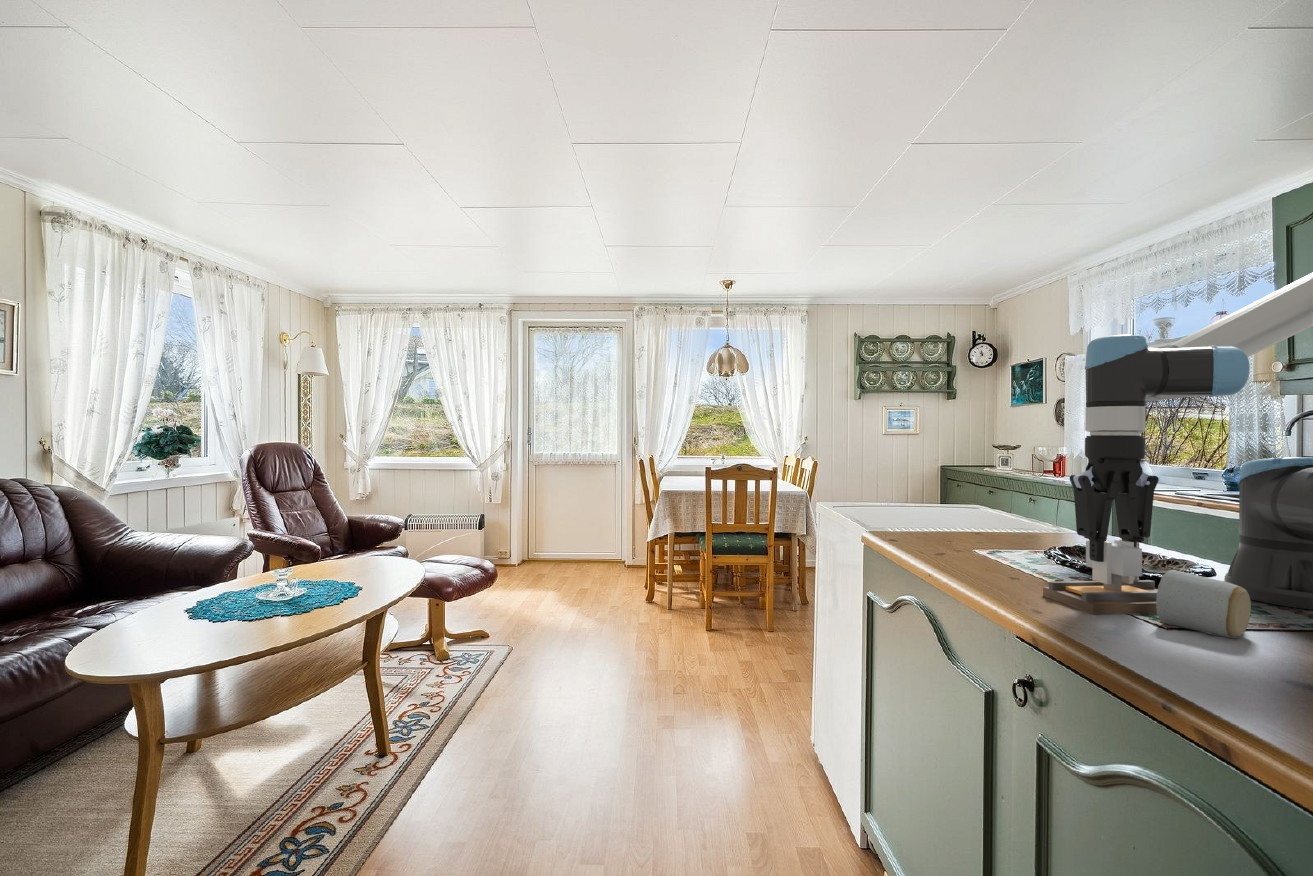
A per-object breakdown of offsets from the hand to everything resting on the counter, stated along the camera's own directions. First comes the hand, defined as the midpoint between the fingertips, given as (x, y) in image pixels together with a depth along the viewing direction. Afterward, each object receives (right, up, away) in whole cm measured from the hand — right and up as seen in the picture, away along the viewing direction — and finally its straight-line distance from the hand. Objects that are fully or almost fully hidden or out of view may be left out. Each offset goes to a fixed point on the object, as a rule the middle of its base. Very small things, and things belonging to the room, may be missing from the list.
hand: (1112, 581), depth 92 cm
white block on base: (-1, -2, 0) cm, 2 cm away
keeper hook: (+8, -2, +4) cm, 9 cm away
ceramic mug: (+3, -4, -12) cm, 13 cm away
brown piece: (+1, -4, 0) cm, 4 cm away
